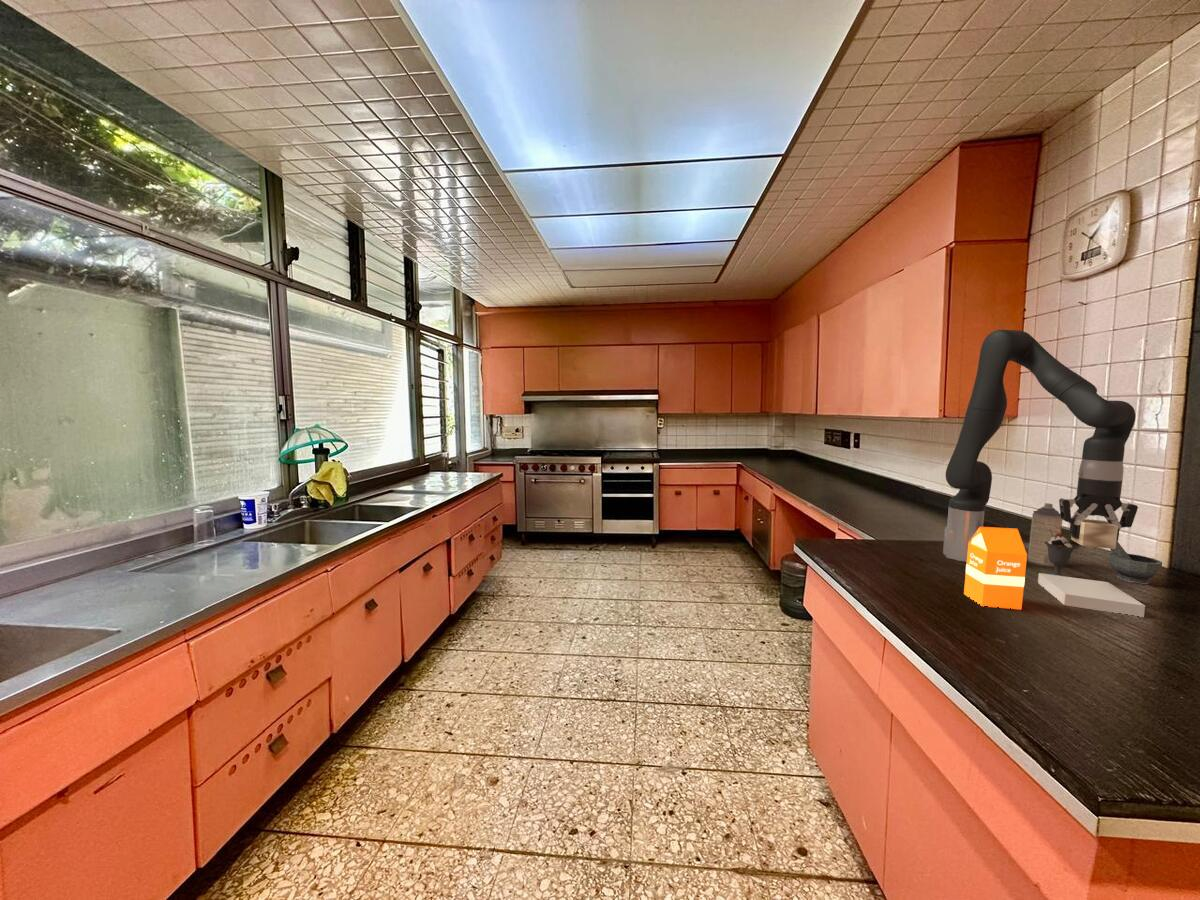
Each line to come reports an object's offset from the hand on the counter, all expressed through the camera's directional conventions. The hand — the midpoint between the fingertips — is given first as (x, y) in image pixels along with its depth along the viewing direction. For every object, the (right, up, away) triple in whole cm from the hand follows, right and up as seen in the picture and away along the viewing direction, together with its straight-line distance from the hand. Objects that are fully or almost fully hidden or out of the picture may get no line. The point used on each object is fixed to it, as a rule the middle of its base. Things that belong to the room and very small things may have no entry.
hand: (1092, 539), depth 114 cm
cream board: (0, -16, +2) cm, 16 cm away
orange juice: (-27, -17, 0) cm, 32 cm away
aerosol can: (+15, -14, +28) cm, 34 cm away
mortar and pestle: (+27, -15, +14) cm, 34 cm away
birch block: (0, -1, 0) cm, 1 cm away
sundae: (+8, -15, +17) cm, 24 cm away
